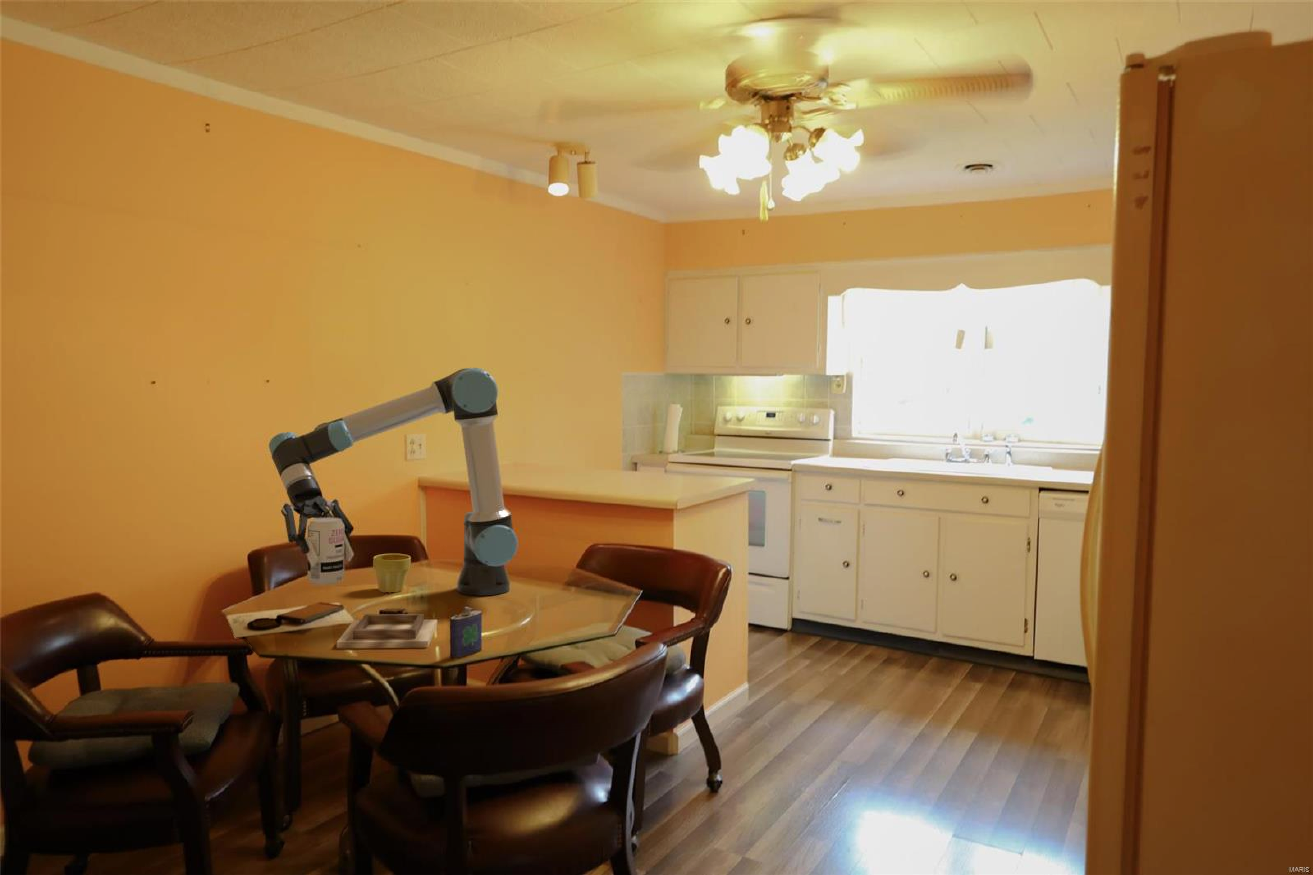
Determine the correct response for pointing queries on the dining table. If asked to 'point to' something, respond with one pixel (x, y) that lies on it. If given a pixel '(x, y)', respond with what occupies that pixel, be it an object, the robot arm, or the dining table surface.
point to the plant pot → (391, 571)
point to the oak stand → (388, 632)
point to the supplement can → (327, 550)
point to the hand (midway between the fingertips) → (332, 560)
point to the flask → (465, 634)
